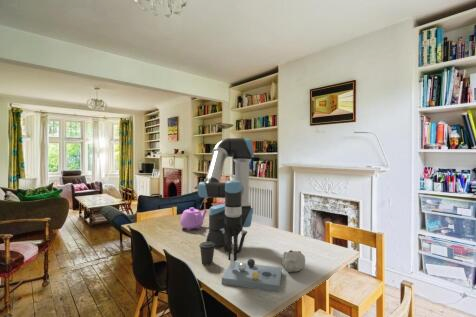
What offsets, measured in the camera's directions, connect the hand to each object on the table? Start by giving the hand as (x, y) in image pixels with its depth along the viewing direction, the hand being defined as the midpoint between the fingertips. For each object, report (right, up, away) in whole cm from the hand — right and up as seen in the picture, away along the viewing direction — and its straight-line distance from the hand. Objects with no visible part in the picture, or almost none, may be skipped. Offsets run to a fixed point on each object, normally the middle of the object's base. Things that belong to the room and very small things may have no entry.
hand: (232, 267), depth 110 cm
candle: (+29, -4, +8) cm, 30 cm away
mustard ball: (+10, 0, -8) cm, 13 cm away
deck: (+9, -4, -2) cm, 10 cm away
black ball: (+8, 0, +4) cm, 9 cm away
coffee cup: (-13, -4, +13) cm, 19 cm away
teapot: (-29, -2, +69) cm, 75 cm away
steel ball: (+4, 0, -1) cm, 4 cm away
